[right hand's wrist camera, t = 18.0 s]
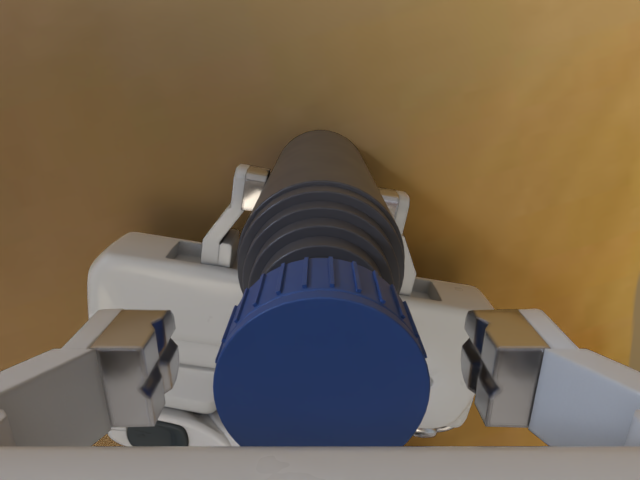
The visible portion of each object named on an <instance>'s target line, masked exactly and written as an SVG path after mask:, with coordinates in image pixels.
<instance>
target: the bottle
mask: <svg viewBox="0 0 640 480" xmlns="http://www.w3.org/2000/svg"><path fill="white" fill-rule="evenodd" d="M329 256H331V257H333V259H339V260H344V261H348V262H352V261H355V262H356V263H357V265H360V266H363V267H365V268H367V269H369V270H370V271H372V272H373V271H374V270H375V271H377V272H378V275H379V276H380V277H381V278H383V279H384V280H385V281H386V282H387V283H388V284H389V285H391V284H393V285H394V286H395V289H396V291H397V294H398V295H399V293H400V290H401V287H402V284H403V279H404V269H405V264H404V263H405V252H404V244H403V240H402V236H401V233H400V231H399V228H398V226H397V224H396V222H395V220H394V218H393V216H392V214H391V212H390V210H389V208H388V206H387V205H386V203H385V201H384V199H383V197H382V195H381V193H380V191H379V189H378V187H377V185H376V183H375V181H374V180H373V178H372V176H371V174H370V172H369V170H368V168H367V166H366V164H365V162H364V160H363V158H362V156H361V155H360V153H359V151H358V150H357V148H356V147H355V146H354V145H353V144H352V143H351V142H350V141H349V140H348V139H347V138H345V137H343V136H342V135H340V134H337V133H335V132H331V131H325V130H315V131H310V132H306V133H304V134H301V135H299V136H297V137H296V138H294V139H293V140H292V141H290V142H289V143H288V144H287V145H286V147H285V148H284V149H283V151H282V152H281V154H280V156H279V158H278V160H277V162H276V164H275V166H274V168H273V170H272V172H271V174H270V176H269V178H268V180H267V182H266V184H265V186H264V188H263V190H262V192H261V194H260V196H259V198H258V200H257V202H256V204H255V206H254V208H253V210H252V212H251V214H250V216H249V218H248V220H247V222H246V224H245V226H244V227H243V230H242V233H241V236H240V239H239V243H238V248H237V271H238V280H239V284H240V288H241V291H242V293H243V294H244V291H245V289H246V288H250V287H251V286H252V285H253V284H255V283H256V282H257V281H258V280H259V279H260V277H261V275H262V274H263V273H265V275H266V274H267V273H269V272H271V271H272V270H274V269H276V268H278V267H280V266H281V264H282V263H285V264H288V263H291V262H295V261H299V260H303V259H304V258H305V257H309V259H312V258H329Z"/></svg>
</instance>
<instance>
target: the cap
mask: <svg viewBox="0 0 640 480" xmlns="http://www.w3.org/2000/svg"><path fill="white" fill-rule="evenodd" d="M221 342H222V343H221V346H220V348H219V351H218V354H217V357H216V359H215V363H216V367H215V372H214V377H213V395H214V401H215V405H216V409H217V412H218V415H219V417H220V419H221V422H222V423H223V425H224V427H225V428H226V430H227V432H228V433H229V434H230V435H231V437H232V438H233V439H234V440H235V442H236V443H238V444H239V445H240V446H403V445H405V444H406V443H407V442H408V440H409V439H410V438H411V437H412V436H413V434H414V433H415V432H416V430H417V429H418V427H419V425H420V424H421V422H422V420H423V417H424V415H425V413H426V410H427V406H428V402H429V397H430V375H429V370H428V365H427V362H426V360H425V358H427V354H426V351H425V349H424V346H423V344H422V341H421V338H420V336H419V333H418V331H417V328H416V325H415V323H414V320H413V318H412V315H411V312H410V310H409V307H408V305H407V302H406V301H404V302H403V301H402V299H401V298H400V296H399V295H398V294H397V291H396V289H395V286H394V285H393V284H391V285H389V284H388V283H387V282H386V281H385V280H384V279H383V278H381V277H380V276H379V275H378V272H377V271H375V270H374V271H373V272H372V271H370V270H369V269H367V268H365V267H363V266H360V265H357V263H356V262H355V261H352V262H348V261H344V260H339V259H333V257H331V256H329V258H312V259H309V257H305V258H304V259H303V260H299V261H295V262H291V263H288V264H285V263H282V264H281V266H280V267H278V268H276V269H274V270H272V271H271V272H269V273H267V274H266V275H265V273H263V274H262V275H261V277H260V279H259V280H258V281H257V282H256V283H255V284H253V285H252V286H251V287H250V288H246V289H245V291H244V294H243V297H242V299H241V301H240V303H239V304H238V306H236V305H235V306H234V308H233V311H232V313H231V316H230V319H229V322H228V324H227V327H226V330H225V332H224V335H223V338H222V340H221Z"/></svg>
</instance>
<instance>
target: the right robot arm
mask: <svg viewBox="0 0 640 480" xmlns="http://www.w3.org/2000/svg"><path fill="white" fill-rule="evenodd" d="M175 329H176V326H175V320H174V315H173V313H172V312H171V310H144V309H101V310H98V311H97V312H96V313H95V314H94V315H93V316H92V317H91V318H90V319H89V320H88V321H87V322H86V323H85V324H84V325H83V326H82V327H81V328H80V329H79V331H78V332H77V333H76V334H75V335H74V336H73V337H72V338H71V339H70V340H69V341H68V342H67V343H66V344H65V345H64V346H63V347H62V348H61V349H52V350H49V351H47V352H45V353H42V354H40V355H38V356H35V357H33V358H31V359H28V360H26V361H24V362H21V363H19V364H17V365H14V366H12V367H10V368H7V369H5V370H3V371H1V372H0V480H640V372H639V371H637V370H635V369H632V368H630V367H628V366H625V365H623V364H621V363H619V362H616V361H614V360H612V359H609V358H607V357H605V356H602V355H600V354H598V353H595V352H593V351H591V350H588V349H579V348H578V347H577V346H576V345H575V344H574V343H573V342H572V341H571V340H570V339H569V338H568V337H567V336H566V335H565V334H564V333H563V331H562V330H561V329H560V328H559V327H558V326H557V325H556V324H555V323H554V322H553V321H552V320H551V319H550V318H549V317H548V316H547V315H546V314H545V313H544V312H543V311H542V310H540V309H499V310H471V311H468V313H467V316H466V319H465V326H464V329H465V331H466V332H467V334H468V336H469V339H468V340H467V341H466V342H465V343H464V344H463V345H462V350H461V370H462V375H463V379H464V382H465V384H466V386H467V388H468V389H469V390H470V391H472V392H473V393H475V394H476V396H475V405H476V407H477V410H478V412H479V414H480V416H481V418H482V420H483V422H484V424H485V426H488V427H525V428H529V429H528V430H530V431H531V432H532V433H533V434H535V435H536V436H537V437H538V438H540V439H541V440H542V441H543V442H545V443H546V444H547V445H548V446H92V445H93V444H94V443H96V442H97V441H98V440H99V439H101V438H102V437H103V436H104V435H106V434H107V433H108V432H109V431H111V428H115V427H151V426H155V424H156V422H157V420H158V418H159V416H160V414H161V412H162V410H163V407H164V405H165V396H164V394H165V393H167V392H168V391H170V390H171V389H172V388H173V386H174V384H175V382H176V379H177V374H178V369H179V349H178V345H177V344H176V343H175V342H174V341H173V340H172V339H171V336H172V334H173V332H174V331H175Z"/></svg>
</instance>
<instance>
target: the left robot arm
mask: <svg viewBox="0 0 640 480" xmlns="http://www.w3.org/2000/svg"><path fill="white" fill-rule="evenodd" d="M270 171H271V170H270V169H267V168H262V167H257V166H252V165H247V164H239V165H238V166H237V168H236V171H235V175H234V180H233V190H232V199H231V203H230V204H229V205H228V207H227V208H226V209H225V211H224V212H223V213H222V214H221V216H220V217H219V218H218V219H217V221H216V222H215V223H214V225H213V226H212V227H211V229H210V230H209V231H208V233H207V234H206V236H205V237H204V238H203V242H197V241H190V240H184V239H178V238H172V237H165V236H159V235H153V234H147V233H141V232H129V233H127V234H125V235H123V236H122V237H120V238H119V239H118V240H116V241H115V242H113V243H112V244H111V245H109V246H108V247H107V248H106V249H105V250H104V251H103V252H101V254H100V255H99V256H98V257H97V258H96V259H95V260H94V261H93V263H92V265H91V267H90V269H89V272H88V280H87V300H88V317H89V319H90V318H91V317H92V316H93V315H94V314H95V313H96V312H97V311H98V310H101V309H144V310H171V312H172V313H173V315H174V320H175V326H176V329H175V331H174V332H173V334H172V336H171V339H172V340H173V341H174V342H175V343H176V344H177V345H178V349H179V369H178V374H177V379H176V382H175V384H174V386H173V388H172V389H171V390H170V391H168V392H167V393H165V394H164V396H165V405H164V407H163V410H162V412H161V414H160V416H159V418H158V420H157V422H156V424H155V426H151V427H115V428H111V431H109V432H108V433H107V434H108V436H109V437H110V438H111V439H112V440H114V441H115V442H117V443H119V444H121V445H123V446H240V445H239V444H238V443H236V442H235V440H234V439H233V438H232V437H231V435H230V434H229V433H228V432H227V430H226V428H225V427H224V425H223V423H222V422H221V419H220V417H219V415H218V412H217V409H216V405H215V401H214V395H213V377H214V372H215V367H216V363H215V359H216V357H217V354H218V351H219V348H220V346H221V343H222V342H221V340H222V338H223V335H224V332H225V330H226V327H227V324H228V322H229V319H230V316H231V313H232V311H233V308H234V306H235V305H236V306H238V304H239V303H240V301H241V299H242V297H243V293H242V291H241V288H240V284H239V280H238V271H237V248H238V241H239V231H238V230H235V229H230V228H231V227H232V226H233V224H234V223H235V222H236V221H237V219H238V218H239V217H240V216H241V214H242V213H243V212H244V210H249V211H252V210H253V208H254V206H255V204H256V202H257V200H258V198H259V196H260V194H261V192H262V190H263V188H264V186H265V184H266V182H267V180H268V178H269V176H270ZM378 189H379V191H380V193H381V195H382V197H383V199H384V201H385V203H386V205H387V206H388V208H389V210H390V212H391V214H392V216H393V218H394V220H395V222H396V224H397V226H398V228H399V231H400V233H401V236H402V240H403V244H404V252H405V263H404V264H405V269H404V279H403V284H402V287H401V290H400V293H399V296H400V298H401V299H402V301H403V302H404V301H406V302H407V305H408V307H409V310H410V312H411V315H412V318H413V320H414V323H415V325H416V328H417V331H418V333H419V336H420V338H421V341H422V344H423V346H424V349H425V351H426V354H427V358H425V360H426V362H427V365H428V370H429V375H430V397H429V402H428V406H427V410H426V413H425V415H424V417H423V420H422V422H421V424H420V425H419V427H418V429H417V430H416V432H415V433H414V434H413V436H415V437H420V438H432V437H435V436H436V433H437V432H444V431H448V430H451V429H453V428H457V427H460V426H461V425H462V424H463V423H464V422H465V420H466V418H467V416H468V413H469V410H470V407H471V404H472V402H473V397H474V395H475V393H473V392H472V391H470V390H469V389H468V388H467V386H466V384H465V382H464V379H463V375H462V370H461V350H462V345H463V344H464V343H465V342H466V341H467V340H468V339H469V336H468V334H467V332H466V331H465V329H464V326H465V319H466V316H467V313H468V311H471V310H495V309H494V308H493V306H492V305H491V303H490V302H489V301H488V300H487V298H486V297H485V296H484V295H483V293H482V292H481V291H480V290H479V289H478V288H476V287H474V286H471V285H465V284H459V283H453V282H447V281H440V280H434V279H428V278H421V277H416V271H415V268H414V265H413V262H412V259H411V256H410V252H409V249H408V246H407V243H406V240H405V237H404V235H403V230H404V226H405V221H406V217H407V213H408V209H409V202H410V198H409V196H408V195H407V193H406V192H404V191H398V190H392V189H386V188H379V187H378ZM229 229H230V230H229Z"/></svg>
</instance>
